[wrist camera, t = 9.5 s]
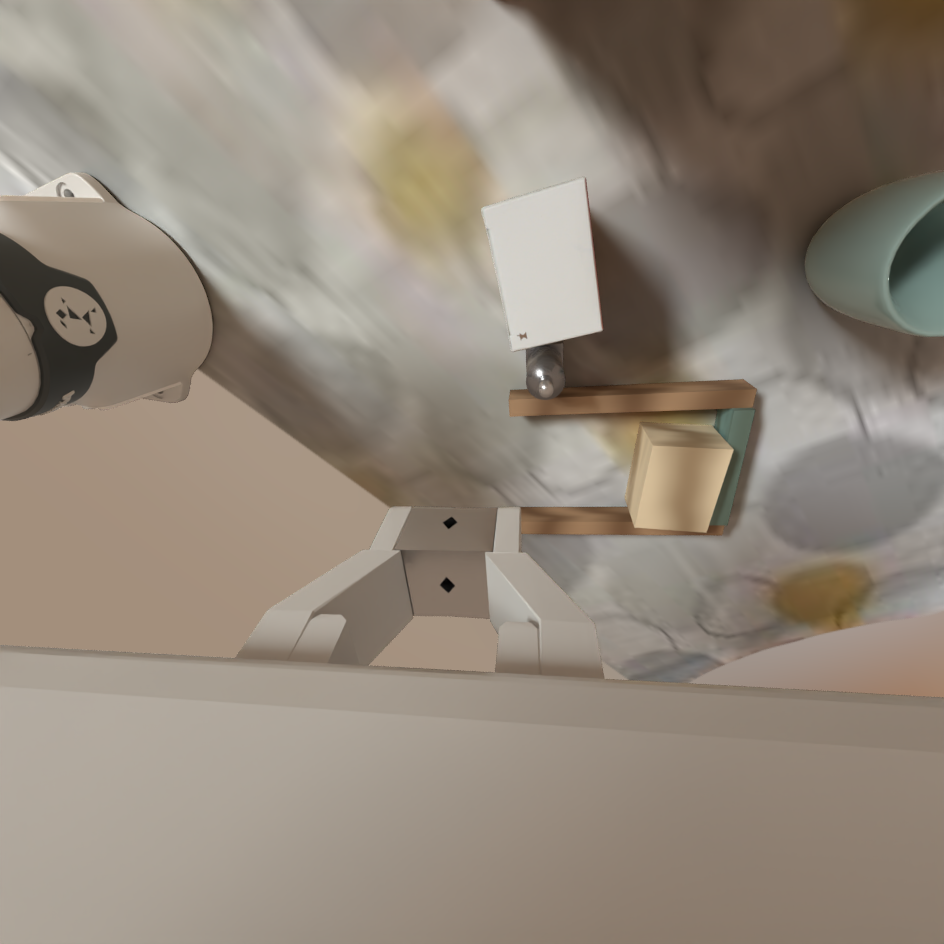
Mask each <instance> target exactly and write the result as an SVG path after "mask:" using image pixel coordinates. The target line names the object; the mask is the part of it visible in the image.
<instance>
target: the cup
mask: <svg viewBox="0 0 944 944" xmlns="http://www.w3.org/2000/svg"><path fill="white" fill-rule="evenodd" d="M804 268H805V275H806V279H807V281H808V284H809V286H810V288H811V289H812V291H813V292H814V294H815V295H816V297H818V298H819V299H820V300H821V301H822V302H823V303H824V304H825V305H827V306H828V307H830V308H832V309H833V310H835V311H837V312H839V313H841V314H843V315H846V316H848V317H850V318H853V319H856V320H859V321H862V322H865V323H868V324H871V325H875V326H878V327H882V328H885V329H889V330H893V331H897V332H901V333H905V334H910V335H914V336H920V337H944V170H940V171H934V172H929V173H924V174H920V175H916V176H912V177H908V178H905V179H901V180H898V181H894V182H891V183H888V184H885V185H882V186H879V187H877V188H875V189H873V190H871V191H868V192H866V193H864V194H862V195H860V196H858V197H856V198H855V199H853V200H852V201H850V202H848V203H847V204H845V205H844V206H843V207H841V208H840V209H839V210H837V211H836V212H835V213H834V214H832V215H831V216H830V217H829V218H828V219H827V220H826V221H825V222H824V223H823V224H822V225H821V227H820V228H819V229H818V231H817V232H816V233H815V235H814V236H813V238H812V240H811V242H810V244H809V246H808V249H807V252H806V256H805V265H804Z"/></svg>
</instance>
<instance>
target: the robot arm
mask: <svg viewBox="0 0 944 944" xmlns="http://www.w3.org/2000/svg"><path fill="white" fill-rule="evenodd" d="M72 193H73V194H74V197H73V194H72ZM212 333H213V324H212V315H211V310H210V305H209V302H208V298H207V295H206V293H205V290H204V288H203V285H202V283H201V281H200V279H199V277H198V275H197V273H196V272H195V270H194V268H193V267H192V265H191V264H190V262H189V261H188V259H187V258H186V257H185V255H184V254H183V253H182V252H181V250H180V249H179V248H178V247H177V246H176V245H175V243H174V242H173V241H172V240H171V239H170V238H169V237H168V236H166V235H165V234H164V233H163V232H162V231H161V230H159V229H158V228H157V227H156V226H154V225H153V224H151V223H150V222H149V221H147V220H145V219H144V218H142V217H140V216H138V215H137V214H135V213H133V212H131V211H130V210H128V209H126V208H125V207H123V206H122V205H121V204H119V203H118V202H117V201H116V200H115V199H114V198H113V196H112V195H111V194H110V193H109V192H108V191H107V190H106V189H105V188H104V187H103V186H102V185H101V184H100V183H99V182H98V181H97V180H95V179H94V178H93V177H92V176H90V175H88V174H86V173H83V172H80V173H67V174H65V175H63V176H61V177H59V178H57V179H55V180H53V181H51V182H49V183H47V184H45V185H43V186H42V187H40V188H38V189H36V190H34V191H32V192H30V193H28V194H26V195H24V196H10V195H0V420H7V421H17V420H22V419H26V418H29V417H33V416H37V415H43V414H46V413H50V412H52V411H55V410H57V409H59V408H61V407H63V406H72V405H81V406H82V407H83V408H84V409H94V408H98V409H100V410H108V409H112V408H115V407H118V406H121V405H124V404H127V403H130V402H132V401H135V400H138V399H140V398H143V399H149V400H157V401H163V402H169V403H176V402H179V401H182V400H185V399H186V398H187V396H188V393H189V389H190V384H191V377H192V375H193V374H194V372H195V371H196V370H197V369H198V368H199V366H200V365H201V364H202V363H203V361H204V360H205V358H206V357H207V354H208V352H209V349H210V346H211V342H212ZM413 616H455V617H471V618H486V619H490V621H491V623H492V625H493V627H494V628H495V630H496V632H497V634H498V645H497V657H496V668H495V673H493V672H476V671H459V670H440V669H423V668H404V667H385V666H368V665H369V664H370V663H371V662H372V661H373V660H374V659H375V658H376V657H377V656H378V655H379V654H380V653H381V652H382V651H383V649H384V648H385V647H386V646H387V645H388V644H389V643H390V642H391V641H392V640H393V639H394V638H395V637H396V636H397V635H398V633H400V631H401V630H402V629H403V628H404V627H405V626H406V625H407V624H408V623H409V622H410V621H411V620H412V619H413ZM0 944H944V698H943V697H942V698H941V697H925V696H907V695H906V696H905V695H889V694H871V693H870V694H869V693H852V692H835V691H817V690H816V691H815V690H799V689H780V688H763V687H745V686H727V685H709V684H708V685H707V684H691V683H672V682H653V681H634V680H615V679H604V674H603V668H602V662H601V656H600V651H599V645H598V639H597V633H596V628H595V623H594V622H593V621H592V620H591V619H590V618H589V617H588V616H587V615H586V614H585V613H584V612H583V611H582V610H581V609H580V608H579V607H578V606H577V605H576V604H575V603H574V602H573V600H572V599H571V598H570V597H569V596H568V595H567V594H566V593H565V592H564V591H563V590H562V589H561V588H560V587H559V586H558V585H557V584H556V583H555V582H554V581H553V580H552V579H551V578H550V577H549V576H548V574H547V573H546V572H545V571H544V570H543V569H542V568H541V567H540V566H539V565H538V564H537V563H536V562H535V561H534V560H533V559H532V558H531V557H530V556H529V555H528V554H527V553H522V540H521V508H520V507H498V508H456V507H420V506H414V507H412V506H393V507H391V508H390V509H389V510H388V512H387V514H386V516H385V518H384V520H383V522H382V525H381V526H380V529H379V530H378V532H377V534H376V537H375V538H374V540H373V543H372V545H371V547H370V549H369V550H362V551H360V552H358V553H357V554H355V555H354V556H352V557H350V558H349V559H347V560H346V561H344V562H343V563H341V564H339V565H338V566H336V567H335V568H333V569H332V570H330V571H328V572H327V573H325V574H324V575H322V576H321V577H319V578H317V579H316V580H314V581H313V582H311V583H310V584H308V585H306V586H305V587H303V588H302V589H300V590H299V591H297V592H295V593H294V594H292V595H291V596H289V597H288V598H286V599H284V600H283V601H281V602H280V603H278V604H276V605H275V606H273V607H272V608H270V609H269V610H268V611H267V612H266V613H265V615H264V616H263V618H262V619H261V621H260V622H259V624H258V625H257V626H256V628H255V629H254V631H253V633H252V634H251V635H250V637H249V638H248V640H247V641H246V643H245V644H244V646H243V647H242V649H241V650H240V651H239V653H238V654H237V656H236V657H235V658H223V657H204V656H186V655H168V654H150V653H132V652H115V651H97V650H79V649H61V648H43V647H25V646H8V645H0Z"/></svg>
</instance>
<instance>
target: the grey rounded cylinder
mask: <svg viewBox="0 0 944 944" xmlns="http://www.w3.org/2000/svg"><path fill="white" fill-rule="evenodd" d="M526 368H527V378H526V385H527V389H528V391H529V392H530V394H531V395H532V396H534V397H535V398H537V399H540V400H550V399H553V398H555V397H556V396H558V395H559V394H560V393H561V392H562V390H563V388H564V386H565V375H564V369H563V341H558V342H554V343H549V344H545V345H541V346H537V347H532V348H528V349H526Z"/></svg>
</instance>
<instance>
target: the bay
mask: <svg viewBox="0 0 944 944" xmlns="http://www.w3.org/2000/svg"><path fill="white" fill-rule="evenodd" d="M756 391H757V389H756V388H755V387H753V386H752V385H751V384H749V383H748V382H746V381H745V380H744V379H740V380H718V381H696V382H675V383H653V384H632V385H610V386H589V387H567V388H563V390H562V392H561V393H560V394H559V395H558V396H556V397H555V398H553V399H550V400H540V399H537V398H535V397H534V396H532V395H531V394H530V392H529V391H528V389H524V390H510V396H509V412H510V416H537V415H564V414H592V413H619V412H647V411H674V410H702V409H718V411H717V416H716V421H715V426H714V428H715V429H716V431H717V432H718V433H719V434H720V435H721V436H722V437H723V438H724V439H725V441H726V442H727V443H728V444H729V445H730V446H731V447H732V448H733V449H734V450H733V453H732V457H731V460H730V463H729V466H728V469H727V472H726V475H725V478H724V481H723V484H722V487H721V490H720V493H719V496H718V499H717V502H716V505H715V508H714V511H713V514H712V517H711V520H710V524H709V527H708V530H707V533H703V532H689V531H675V530H661V529H647V528H634V524H633V521H632V518H631V515H630V512H629V509H628V507H520V508H521V534H603V535H722V534H723V530H724V526H725V525H728V521H729V517H730V513H731V509H732V505H733V500H734V496H735V492H736V488H737V484H738V480H739V476H740V471H741V467H742V463H743V459H744V455H745V451H746V447H747V443H748V438H749V434H750V430H751V426H752V422H753V418H754V414H755V409H754V408H753V404H754V399H755V395H756Z"/></svg>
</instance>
